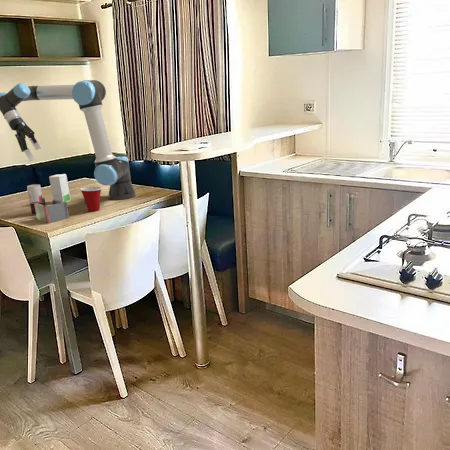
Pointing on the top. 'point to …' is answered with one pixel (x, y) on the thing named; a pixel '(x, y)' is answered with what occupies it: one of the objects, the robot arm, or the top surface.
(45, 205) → the plunger
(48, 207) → the grey desk organizer
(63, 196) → the skincare box
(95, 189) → the plastic cup
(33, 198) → the beverage can
